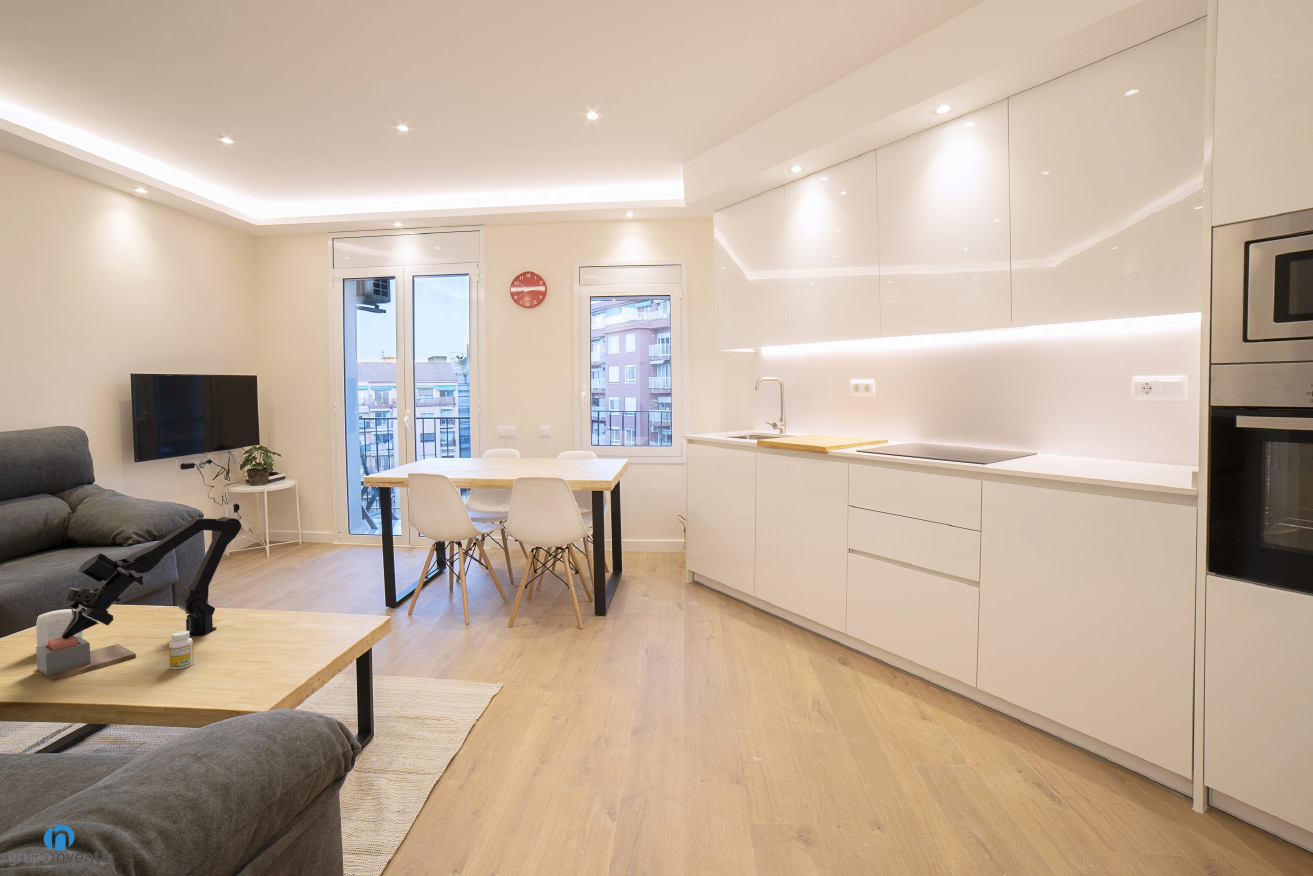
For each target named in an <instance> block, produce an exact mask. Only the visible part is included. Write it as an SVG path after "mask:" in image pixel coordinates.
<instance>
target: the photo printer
mask: <svg viewBox="0 0 1313 876" xmlns="http://www.w3.org/2000/svg"><path fill="white" fill-rule="evenodd" d="M71 610H74V611H75V610H76V609H75V608H72V609H71V608H69V609H67V608H66V609H58V610H51V611H48V612H45V613H42V614H39V615H38V616H37V620H36V623H35V624H36V625H35V627H36V647H38V646H42V645H47V644H48V640H52V639H56V638H60V637H61V636H62V635H63V633H64V631H65V630H66V628H67V626H68V625H69V623H70V622H71V620H72V618H73V615H72V611H71ZM73 636H75V637H81V638H82V639H84V630H83V631H81V632H79V633H77V634H75V635H73Z"/></svg>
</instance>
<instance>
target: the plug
mask: <svg viewBox="0 0 1313 876" xmlns="http://www.w3.org/2000/svg"><path fill="white" fill-rule="evenodd" d="M77 644H78V638H76V637H75V636H71V637H69V638H67V639H64V638H62V637H60V638H56V639H52V640H48V649H50V650H51V651H54V650H58V649H62V648H65V647H69V646H73V645H77Z"/></svg>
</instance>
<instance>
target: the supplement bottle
mask: <svg viewBox="0 0 1313 876" xmlns="http://www.w3.org/2000/svg"><path fill="white" fill-rule="evenodd" d="M171 640H172V641H170V642H169V645H168V650H169V651H168V653H169V654H168V655H169V668H170V669H172V670H181V669H186V668H188V667H190V666H192V665H193V664H194V642H193V639H192V638H191V637H190V634H189V631H186V630H181V631H177V632H174V633H172V634H171Z"/></svg>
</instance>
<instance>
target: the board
mask: <svg viewBox="0 0 1313 876" xmlns="http://www.w3.org/2000/svg"><path fill="white" fill-rule="evenodd" d="M136 658H137V652H136V653H135V652H134V651H132V650H130V649H129V648H127V647H125V646H123V645H122V644H120V643H117V644H112V645H108V646H105V647H101V648H96V649H94V650H90V661H91V663H90V664H86V665H83V666H79V667H75V668H72V669H68V670H64V671H61V672H57V673H53V674H50V675H46V674H45V673H43V672H42V671H41V670H39V669H38V668H37V667H36V670H38V672H40V673H42V674H43V675H44V676H45V677H46V678H47V679H49V680H50V681H52V682H55V681H57V680H62V679H65V678H68V677H71V676H75V675H78V674H82V673H86V672H90V671H93V670H96V669H100V668H103V667H107V666H111V665H114V664H118V663H122V662H125V661H128V660H129V661H130V660H132V659H136Z"/></svg>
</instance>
